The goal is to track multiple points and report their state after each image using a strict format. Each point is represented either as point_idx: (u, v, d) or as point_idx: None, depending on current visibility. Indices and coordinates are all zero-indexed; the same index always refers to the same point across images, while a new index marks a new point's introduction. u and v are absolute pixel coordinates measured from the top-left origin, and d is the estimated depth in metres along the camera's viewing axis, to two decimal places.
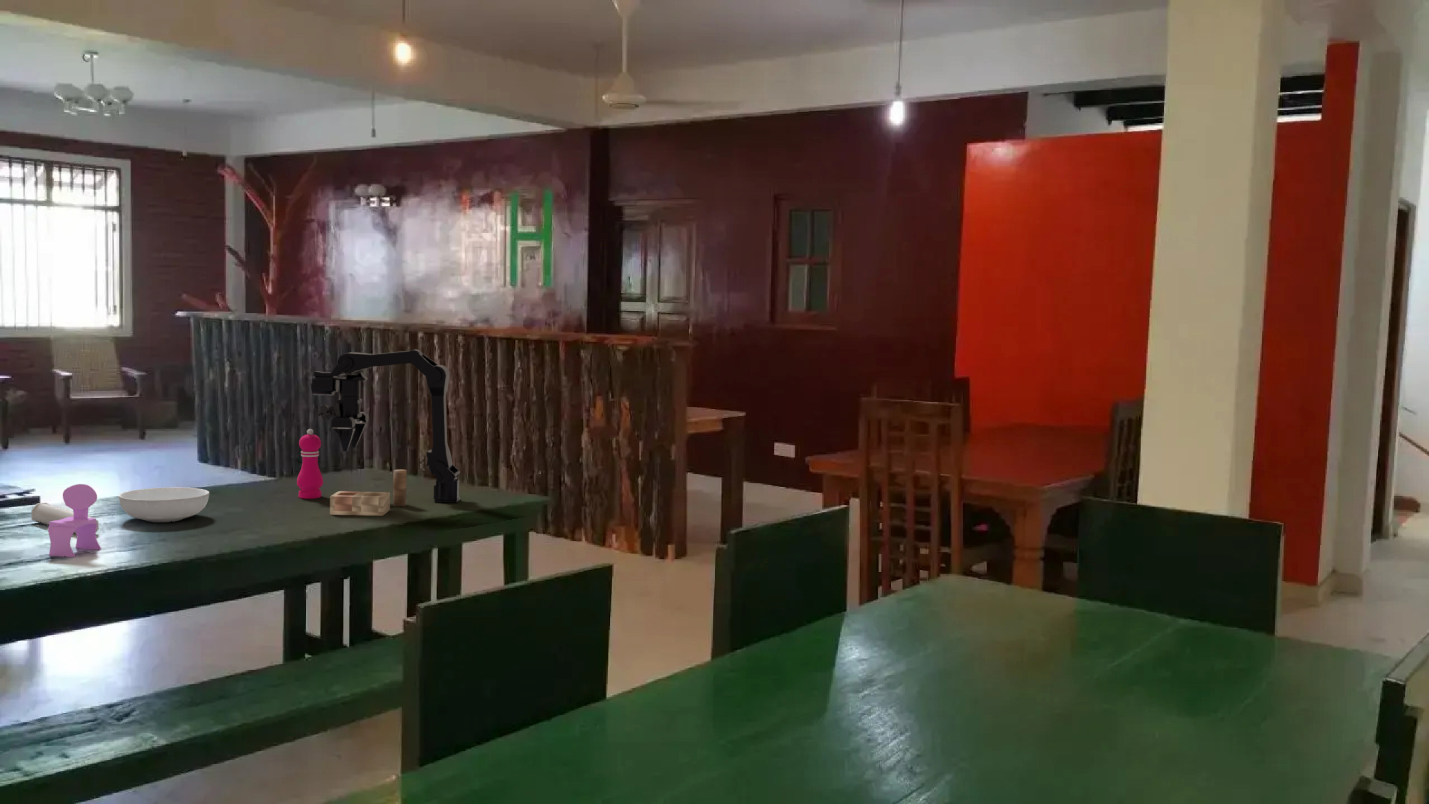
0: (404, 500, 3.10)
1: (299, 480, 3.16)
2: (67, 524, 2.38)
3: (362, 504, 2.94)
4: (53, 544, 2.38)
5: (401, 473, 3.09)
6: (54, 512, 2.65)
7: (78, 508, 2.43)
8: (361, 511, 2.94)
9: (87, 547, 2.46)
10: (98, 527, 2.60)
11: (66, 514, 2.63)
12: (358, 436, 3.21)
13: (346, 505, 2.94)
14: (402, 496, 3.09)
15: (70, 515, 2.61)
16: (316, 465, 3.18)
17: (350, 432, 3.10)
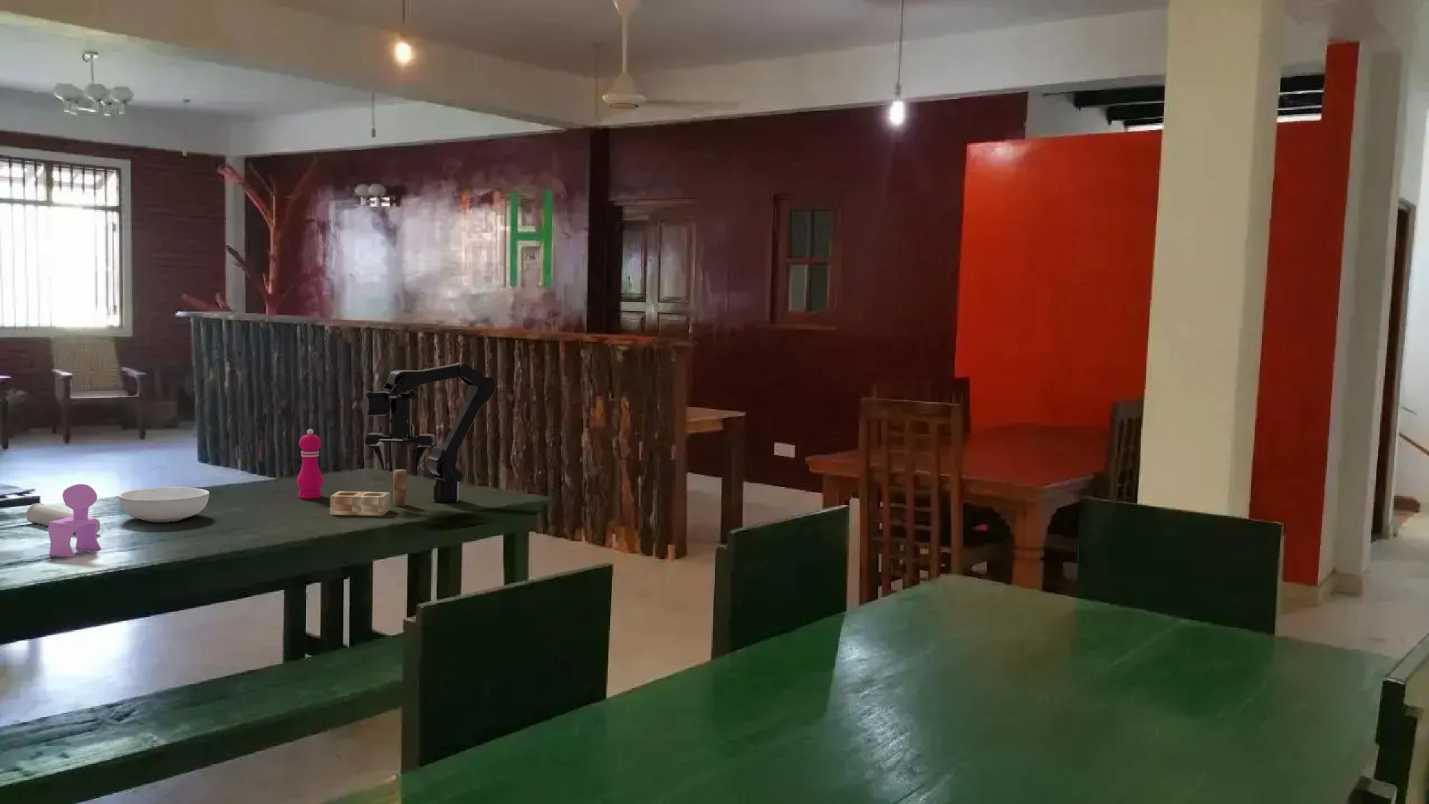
0: (404, 500, 3.10)
1: (299, 480, 3.16)
2: (67, 524, 2.38)
3: (362, 504, 2.94)
4: (53, 544, 2.38)
5: (401, 473, 3.09)
6: (52, 512, 2.65)
7: (78, 508, 2.43)
8: (361, 511, 2.94)
9: (87, 547, 2.46)
10: (99, 527, 2.61)
11: (65, 514, 2.62)
12: (416, 459, 3.09)
13: (346, 505, 2.94)
14: (402, 496, 3.09)
15: (70, 515, 2.61)
16: (316, 465, 3.18)
17: None
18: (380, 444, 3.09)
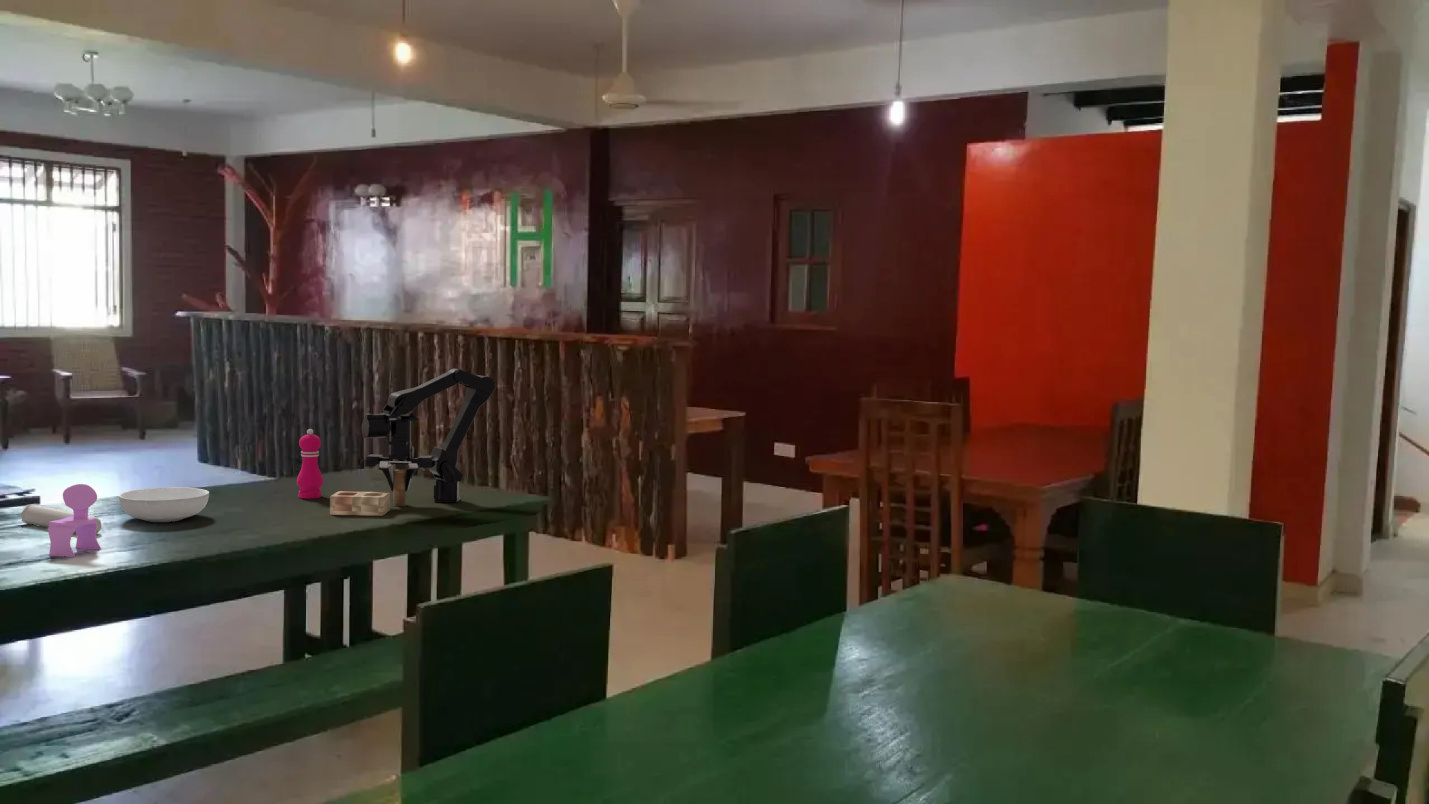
0: (404, 500, 3.10)
1: (299, 480, 3.16)
2: (67, 524, 2.38)
3: (362, 504, 2.94)
4: (53, 544, 2.38)
5: (401, 473, 3.09)
6: (50, 513, 2.65)
7: (78, 508, 2.43)
8: (361, 511, 2.94)
9: (87, 547, 2.46)
10: None
11: (65, 514, 2.62)
12: (406, 480, 3.09)
13: (346, 505, 2.94)
14: (402, 496, 3.09)
15: (70, 515, 2.61)
16: (316, 465, 3.18)
17: None
18: (389, 466, 3.09)
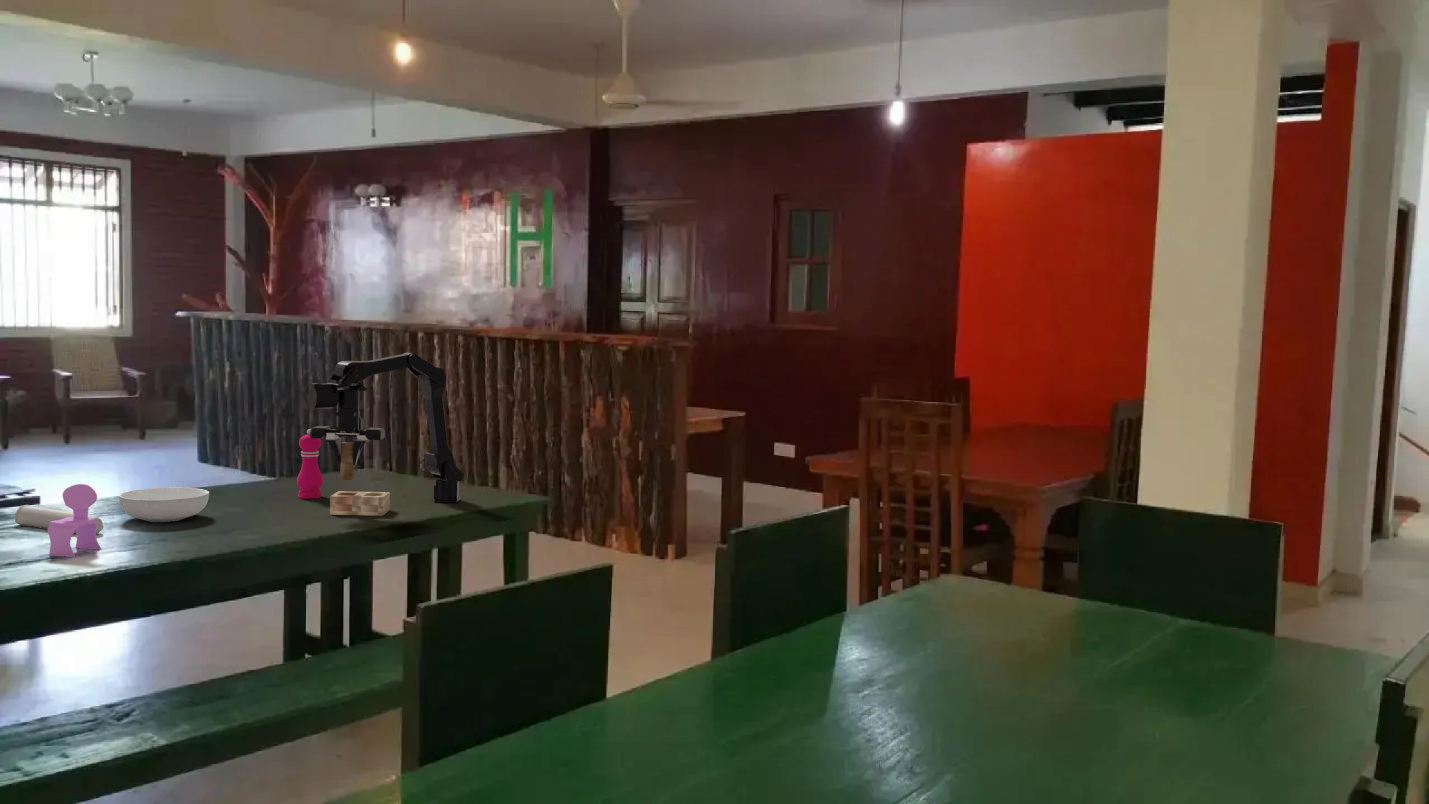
0: (352, 474, 2.97)
1: (299, 480, 3.16)
2: (67, 524, 2.38)
3: (362, 504, 2.94)
4: (53, 544, 2.38)
5: (349, 445, 2.95)
6: (47, 513, 2.64)
7: (78, 508, 2.43)
8: (361, 511, 2.94)
9: (87, 547, 2.46)
10: None
11: (64, 514, 2.62)
12: None
13: (346, 505, 2.94)
14: (350, 470, 2.96)
15: (70, 515, 2.61)
16: (316, 465, 3.18)
17: None
18: (336, 438, 2.96)
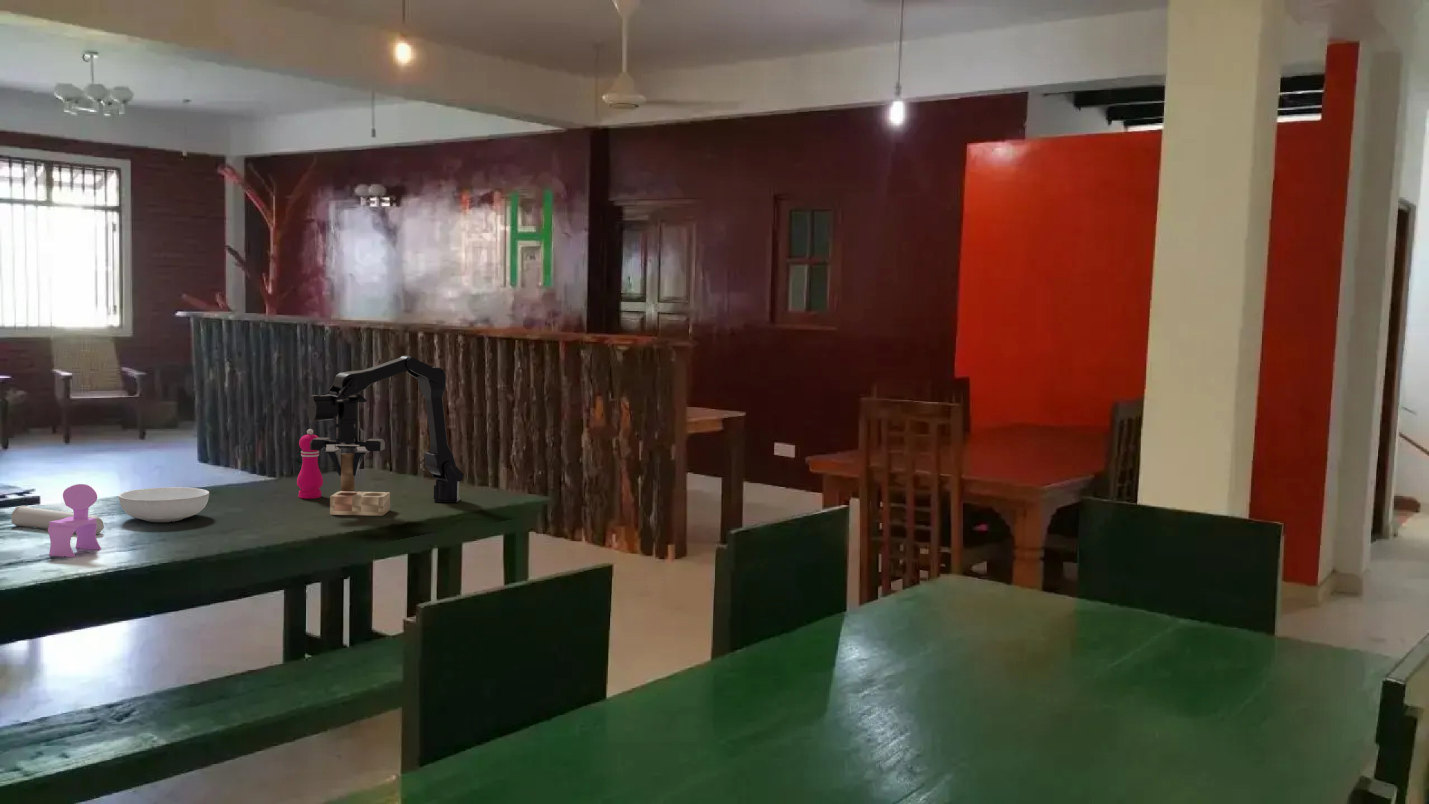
0: (352, 485, 2.97)
1: (299, 480, 3.16)
2: (67, 524, 2.38)
3: (362, 504, 2.94)
4: (53, 544, 2.38)
5: (349, 456, 2.95)
6: (45, 514, 2.63)
7: (78, 508, 2.43)
8: (361, 511, 2.94)
9: (87, 547, 2.46)
10: (103, 525, 2.62)
11: (63, 515, 2.62)
12: (354, 464, 2.96)
13: (346, 505, 2.94)
14: (350, 481, 2.96)
15: (69, 515, 2.61)
16: (316, 465, 3.18)
17: None
18: (336, 450, 2.96)
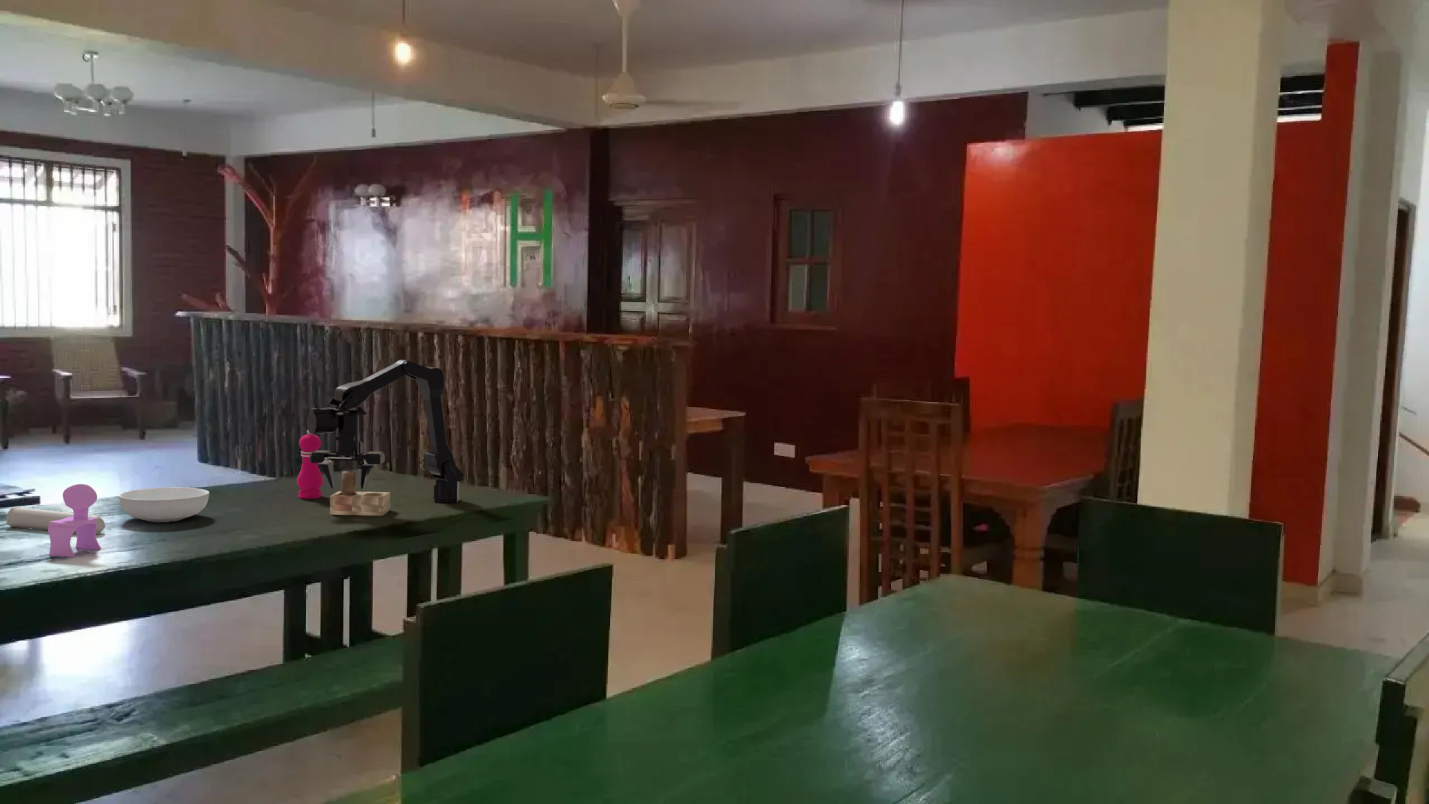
0: None
1: (299, 480, 3.16)
2: (67, 524, 2.38)
3: (362, 504, 2.94)
4: (53, 544, 2.38)
5: (350, 475, 2.96)
6: (43, 514, 2.63)
7: (78, 508, 2.43)
8: (361, 511, 2.94)
9: (87, 547, 2.46)
10: (104, 525, 2.63)
11: (63, 515, 2.61)
12: (361, 477, 2.96)
13: (346, 505, 2.94)
14: None
15: (70, 515, 2.61)
16: (316, 465, 3.18)
17: None
18: (329, 462, 2.96)
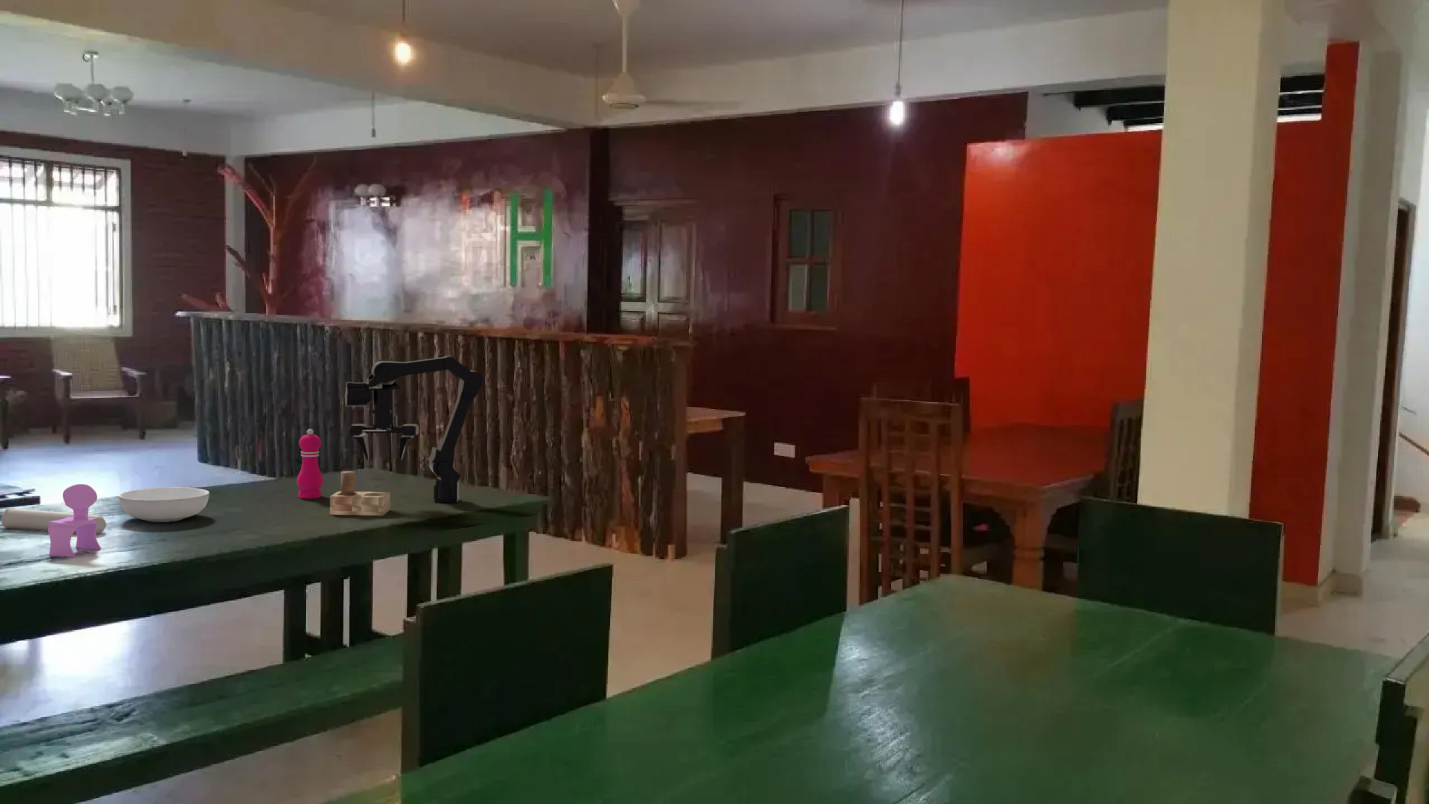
0: None
1: (299, 480, 3.16)
2: (67, 524, 2.38)
3: (362, 504, 2.94)
4: (53, 544, 2.38)
5: (349, 474, 2.96)
6: (41, 515, 2.62)
7: (78, 508, 2.43)
8: (361, 511, 2.94)
9: (87, 547, 2.46)
10: (105, 524, 2.63)
11: (62, 515, 2.61)
12: None
13: (346, 505, 2.94)
14: None
15: (70, 515, 2.61)
16: (316, 465, 3.18)
17: None
18: (364, 435, 3.10)
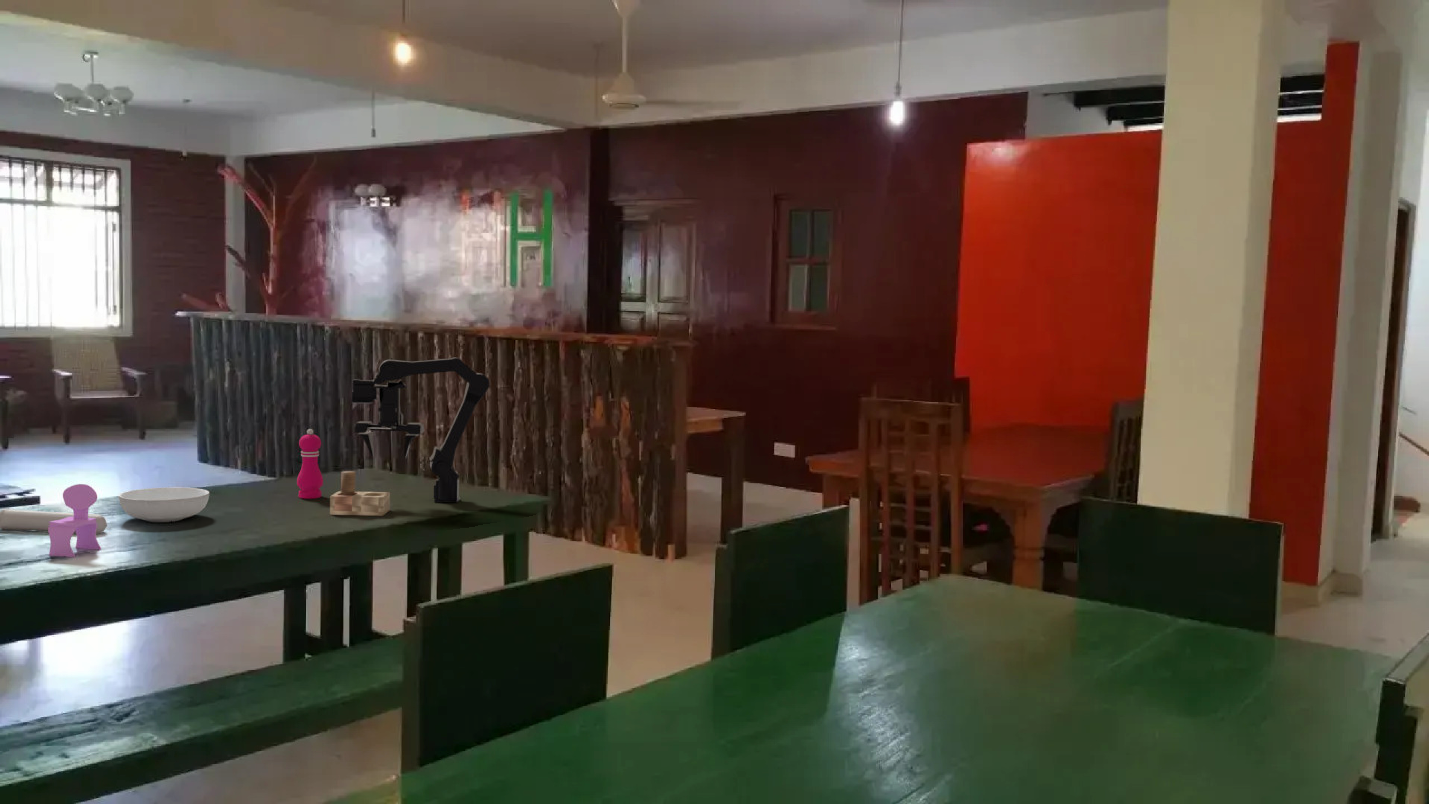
0: None
1: (299, 480, 3.16)
2: (67, 524, 2.38)
3: (362, 504, 2.94)
4: (53, 544, 2.38)
5: (350, 474, 2.96)
6: (40, 515, 2.61)
7: (78, 508, 2.43)
8: (361, 511, 2.94)
9: (87, 547, 2.46)
10: (106, 524, 2.64)
11: (62, 515, 2.61)
12: (404, 447, 3.12)
13: (346, 505, 2.94)
14: None
15: (70, 515, 2.61)
16: (316, 465, 3.18)
17: None
18: (369, 432, 3.12)
